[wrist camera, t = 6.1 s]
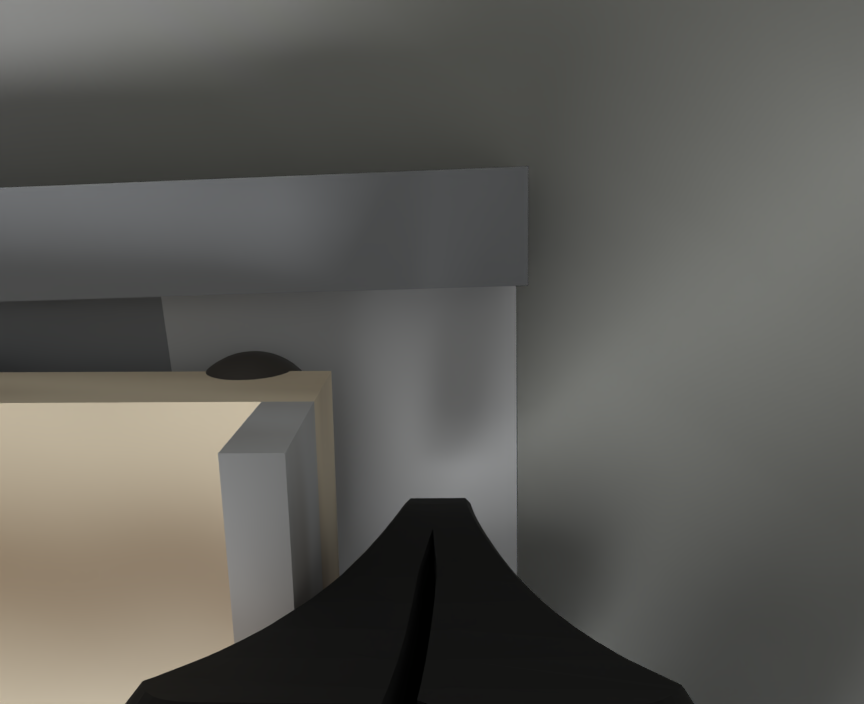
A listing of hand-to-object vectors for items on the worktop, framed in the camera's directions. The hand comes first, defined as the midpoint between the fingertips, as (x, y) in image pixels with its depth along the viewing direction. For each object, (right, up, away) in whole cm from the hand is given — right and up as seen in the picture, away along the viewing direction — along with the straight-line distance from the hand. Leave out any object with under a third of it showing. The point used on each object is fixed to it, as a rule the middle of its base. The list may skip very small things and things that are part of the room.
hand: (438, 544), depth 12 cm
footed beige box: (-6, 0, +1) cm, 7 cm away
